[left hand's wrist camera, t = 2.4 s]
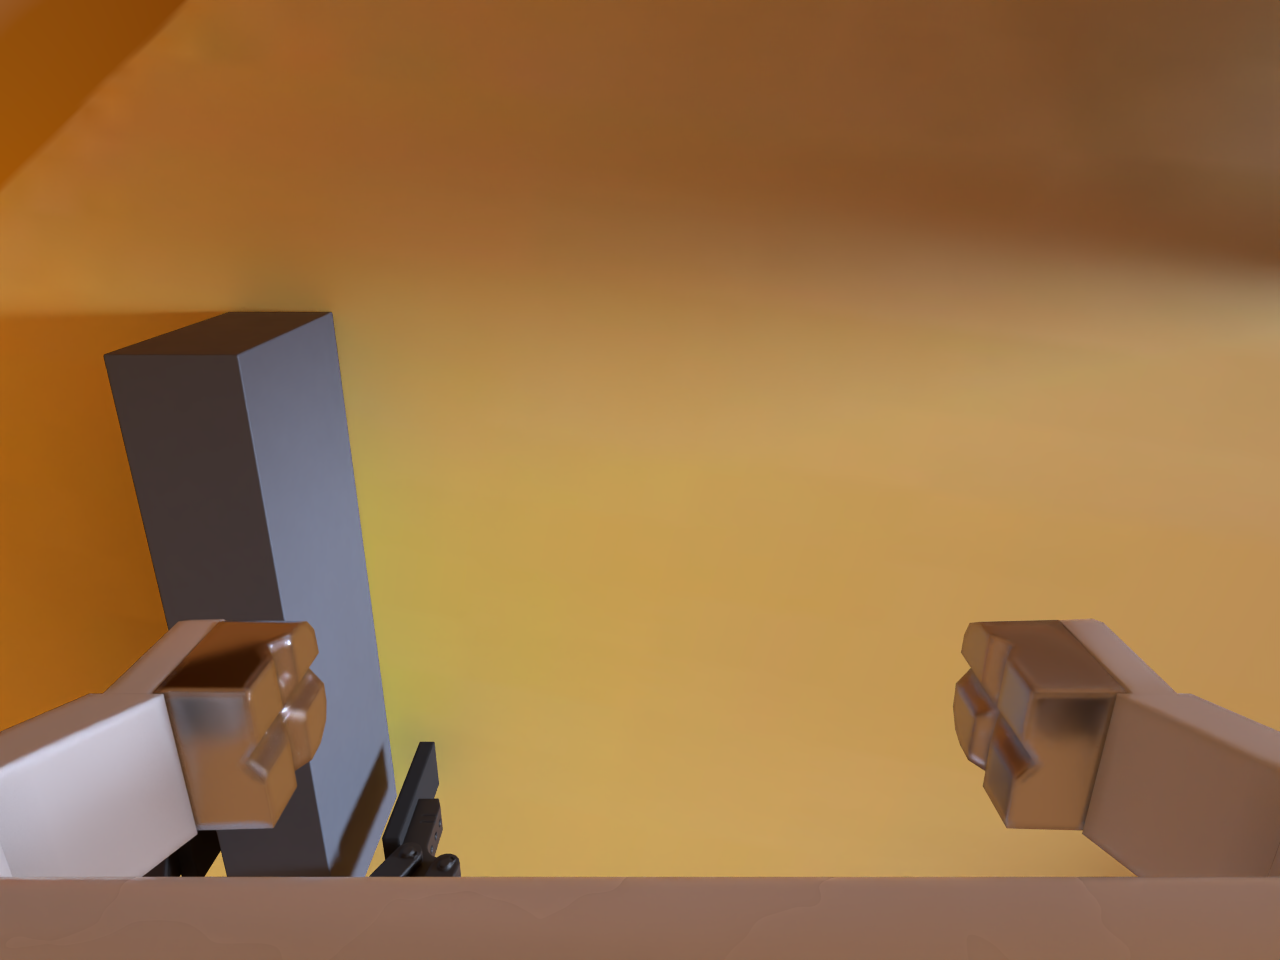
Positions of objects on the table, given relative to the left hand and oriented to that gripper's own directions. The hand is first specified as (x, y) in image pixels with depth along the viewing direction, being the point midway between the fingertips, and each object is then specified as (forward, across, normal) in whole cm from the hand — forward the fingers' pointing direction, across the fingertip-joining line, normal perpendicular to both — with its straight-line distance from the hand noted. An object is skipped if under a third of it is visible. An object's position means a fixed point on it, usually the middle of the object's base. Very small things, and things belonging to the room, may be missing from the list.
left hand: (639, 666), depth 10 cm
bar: (+27, -16, -13) cm, 34 cm away
